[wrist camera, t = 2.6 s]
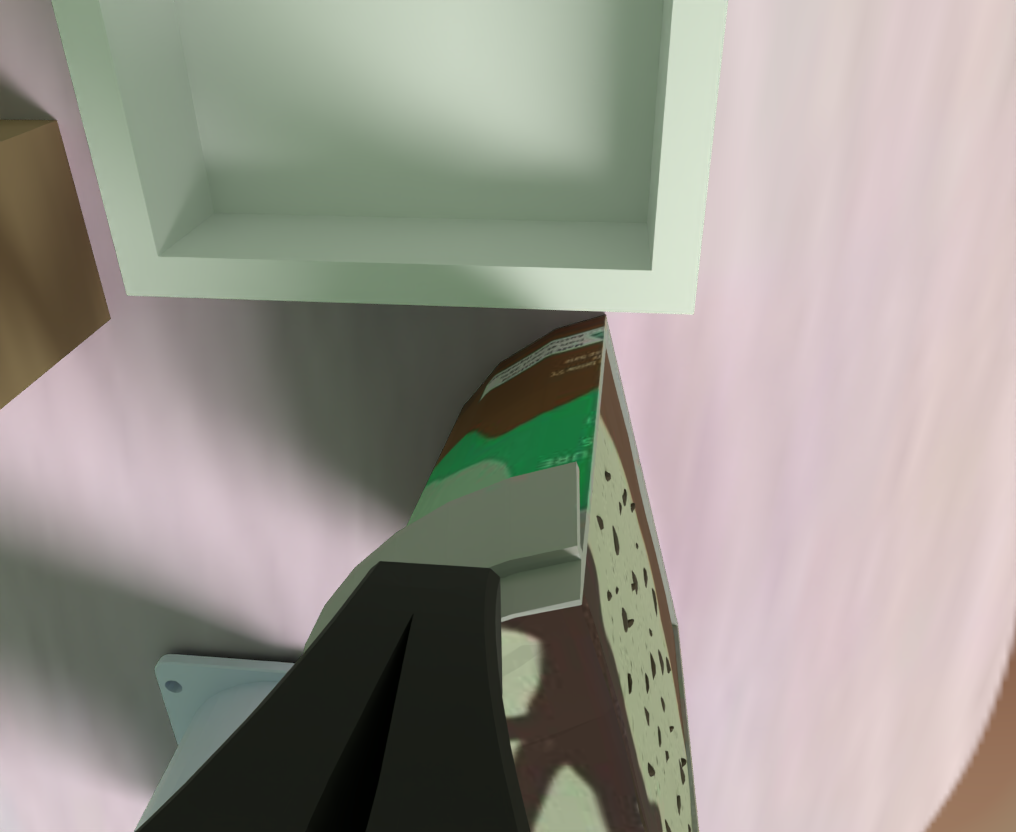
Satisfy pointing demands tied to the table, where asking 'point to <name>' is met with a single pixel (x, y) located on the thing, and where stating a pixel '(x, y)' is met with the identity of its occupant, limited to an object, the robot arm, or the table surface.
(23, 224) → the walnut block
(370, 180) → the counting tray
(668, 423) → the table surface
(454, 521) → the food container
